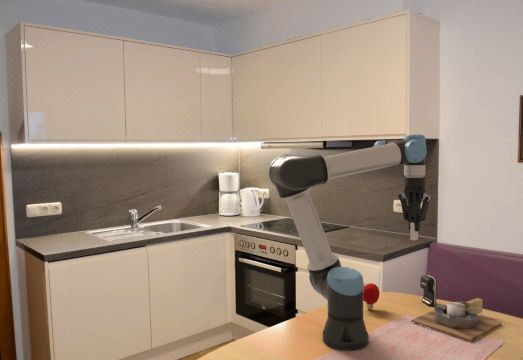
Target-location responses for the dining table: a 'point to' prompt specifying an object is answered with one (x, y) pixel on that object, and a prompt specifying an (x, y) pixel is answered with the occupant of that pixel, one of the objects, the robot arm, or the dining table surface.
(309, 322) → the dining table surface
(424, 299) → the battery charger
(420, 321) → the mount plate
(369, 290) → the light bulb
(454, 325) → the ring nut
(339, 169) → the robot arm
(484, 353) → the dining table surface
